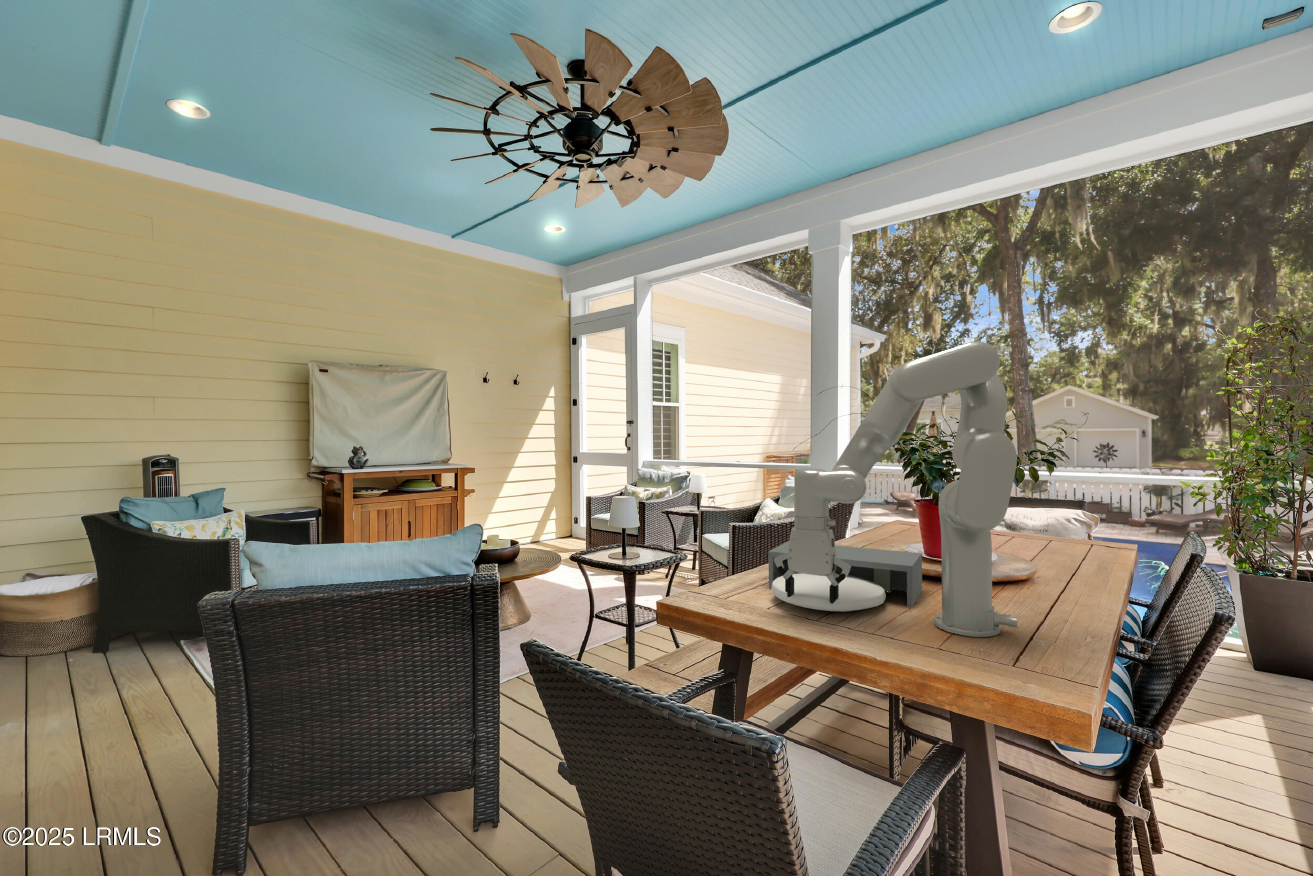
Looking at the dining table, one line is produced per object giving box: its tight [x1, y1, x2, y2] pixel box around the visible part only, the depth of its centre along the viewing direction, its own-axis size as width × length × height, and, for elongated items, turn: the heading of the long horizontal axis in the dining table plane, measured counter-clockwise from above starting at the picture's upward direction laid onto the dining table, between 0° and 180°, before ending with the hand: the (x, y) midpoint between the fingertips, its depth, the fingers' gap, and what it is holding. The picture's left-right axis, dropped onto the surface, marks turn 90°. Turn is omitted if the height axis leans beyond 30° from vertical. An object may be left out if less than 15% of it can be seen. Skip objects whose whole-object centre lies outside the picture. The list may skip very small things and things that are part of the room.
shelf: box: [767, 540, 923, 608], centre depth 155 cm, size 36×16×10 cm, turn 58°
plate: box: [771, 573, 887, 612], centre depth 145 cm, size 28×6×27 cm
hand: (811, 598), depth 132 cm, fingers open, 9 cm apart
